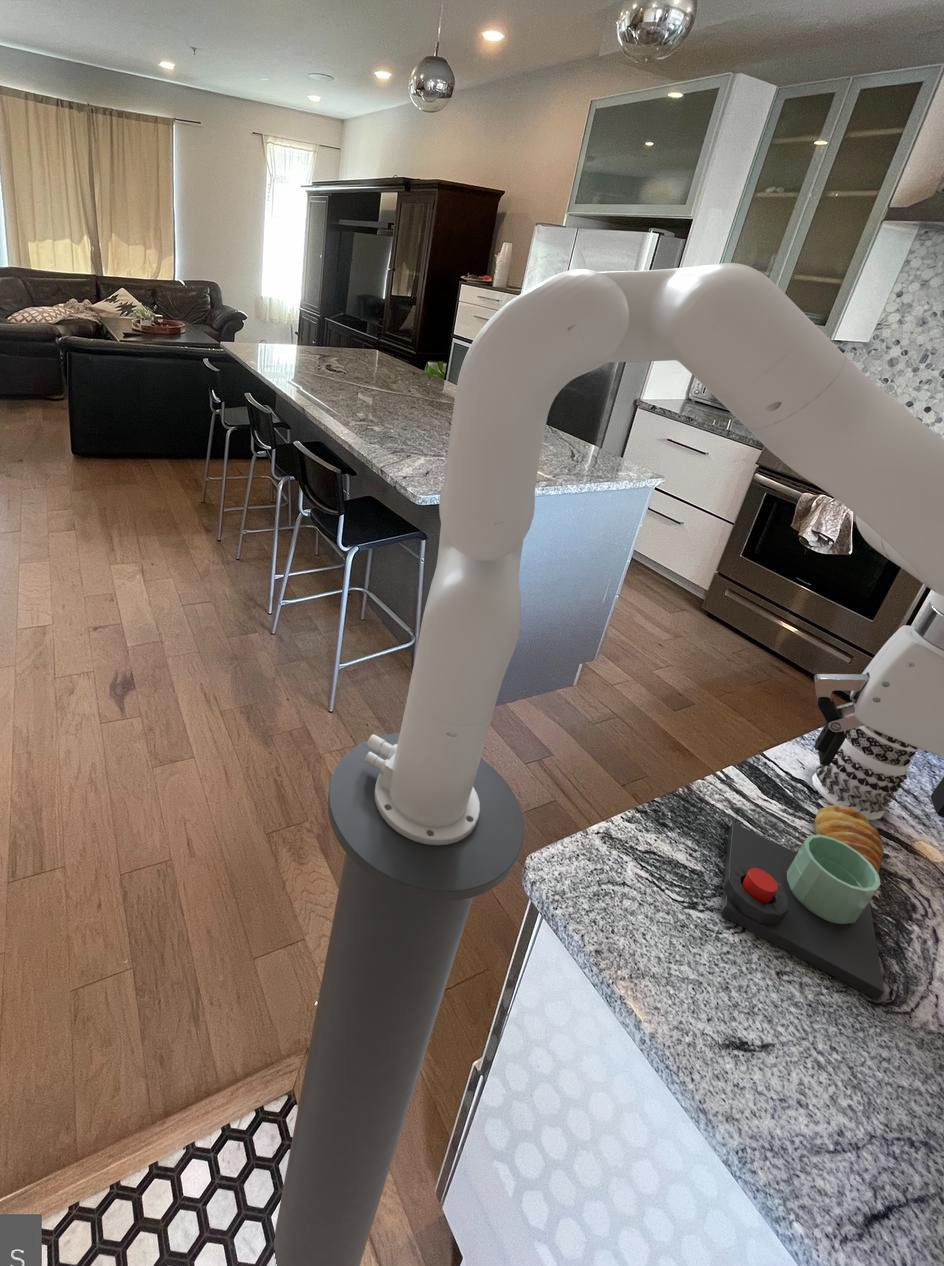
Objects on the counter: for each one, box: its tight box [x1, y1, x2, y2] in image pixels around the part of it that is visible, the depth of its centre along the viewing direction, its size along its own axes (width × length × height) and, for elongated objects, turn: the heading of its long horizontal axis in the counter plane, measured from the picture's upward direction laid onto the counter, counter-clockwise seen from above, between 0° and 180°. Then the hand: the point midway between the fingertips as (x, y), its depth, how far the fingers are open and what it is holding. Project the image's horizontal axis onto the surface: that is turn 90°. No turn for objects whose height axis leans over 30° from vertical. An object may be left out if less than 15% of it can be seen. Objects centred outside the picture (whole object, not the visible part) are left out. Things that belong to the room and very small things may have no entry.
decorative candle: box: [811, 700, 924, 821], centre depth 82 cm, size 9×9×25 cm
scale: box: [720, 822, 885, 1001], centre depth 69 cm, size 14×14×3 cm
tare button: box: [743, 868, 778, 903], centre depth 67 cm, size 3×3×2 cm
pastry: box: [814, 804, 884, 874], centre depth 77 cm, size 9×7×4 cm
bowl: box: [787, 834, 881, 924], centre depth 68 cm, size 7×7×6 cm
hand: (878, 782), depth 63 cm, fingers open, 9 cm apart
